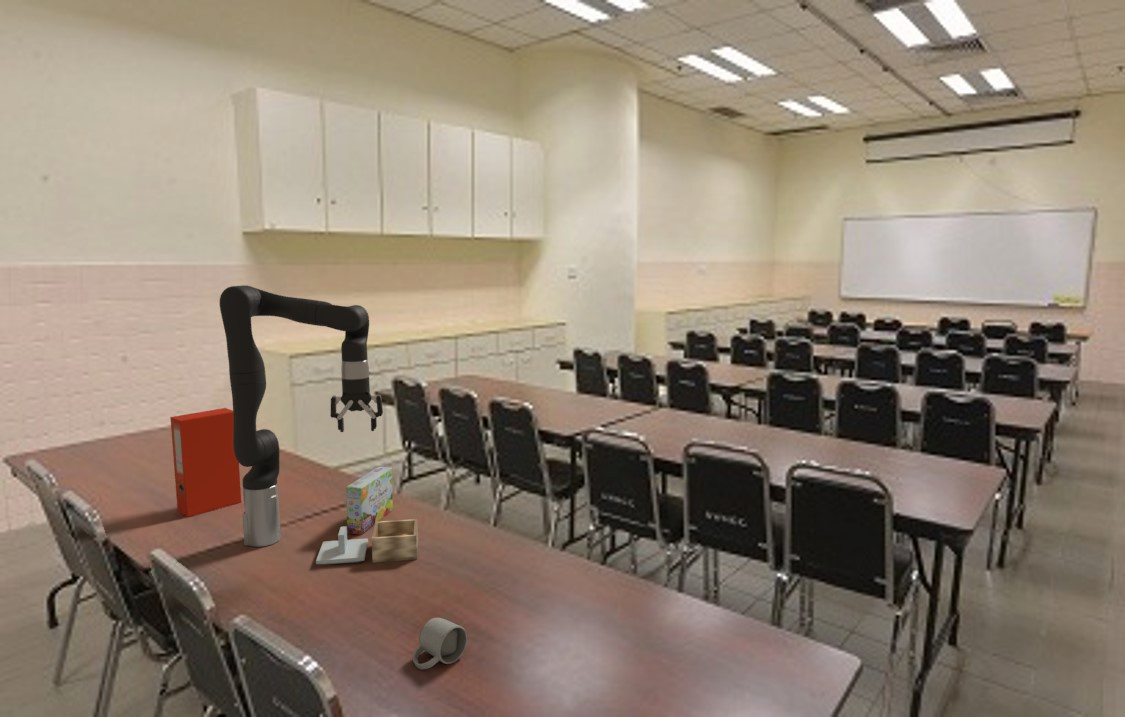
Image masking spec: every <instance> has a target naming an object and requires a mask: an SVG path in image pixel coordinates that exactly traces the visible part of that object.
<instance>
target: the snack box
mask: <svg viewBox="0 0 1125 717" xmlns="http://www.w3.org/2000/svg"><path fill="white" fill-rule="evenodd" d="M345 489H346V490H345V491H346V493H345V494H346V526H347V534H353V535H359V536H361V535H363V534H364V533H365V532H367V531H368V530H370V529H371V528H372V527H373V526H375V522H379V521H382V519H383V518H384V517H386V516H387V515H388V514H390V513H391V512H392V511H393V508H394V506H393V502H394V501H393V467H388V466H387V467H386V466H377V467H376V468H374V469H373V470H371V471H369V472H368V473H366V474H364V475H363V476H362V477H360V478H359V479H356V480H355V481H354V482H352V483H350V484H349V485H347V486H346V487H345Z"/></svg>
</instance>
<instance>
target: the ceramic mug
mask: <svg viewBox="0 0 1125 717" xmlns="http://www.w3.org/2000/svg"><path fill="white" fill-rule="evenodd" d="M418 640H419V644H420V645H419V646H418V647H417V648H416V649H415V650H414V653H413V656H412V661H413V663H414V666H415V667H416V668H418V670H423V671H424V670H428V669H430V668H432V667H434V666H435V665H436V664H437V663H438V662H441V663H443V664H446V665H450V664H454V663H455V662H457V661H458V660H459V659H460V658H461V657H462V655H463V654H464V652H465V650H466V648H467V644H468V634H467V632H466V629H465V628H464V627H463V626H461V625H458V624H456V623H454V622H452V621H450V620H447V619H445V618H443V617H432V618H430V619H428V620H427V621H426V622H425V623H424V624H423V625H422V627H421V630H420V633H419V637H418ZM423 651H425V652H426V653H428V654H429V655H431V656H433V657H432V658H431V659H429V660H428V661H426V662H424V663H420V662H419V660H418V659H419V656H420V655H421V654H422V652H423Z"/></svg>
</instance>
